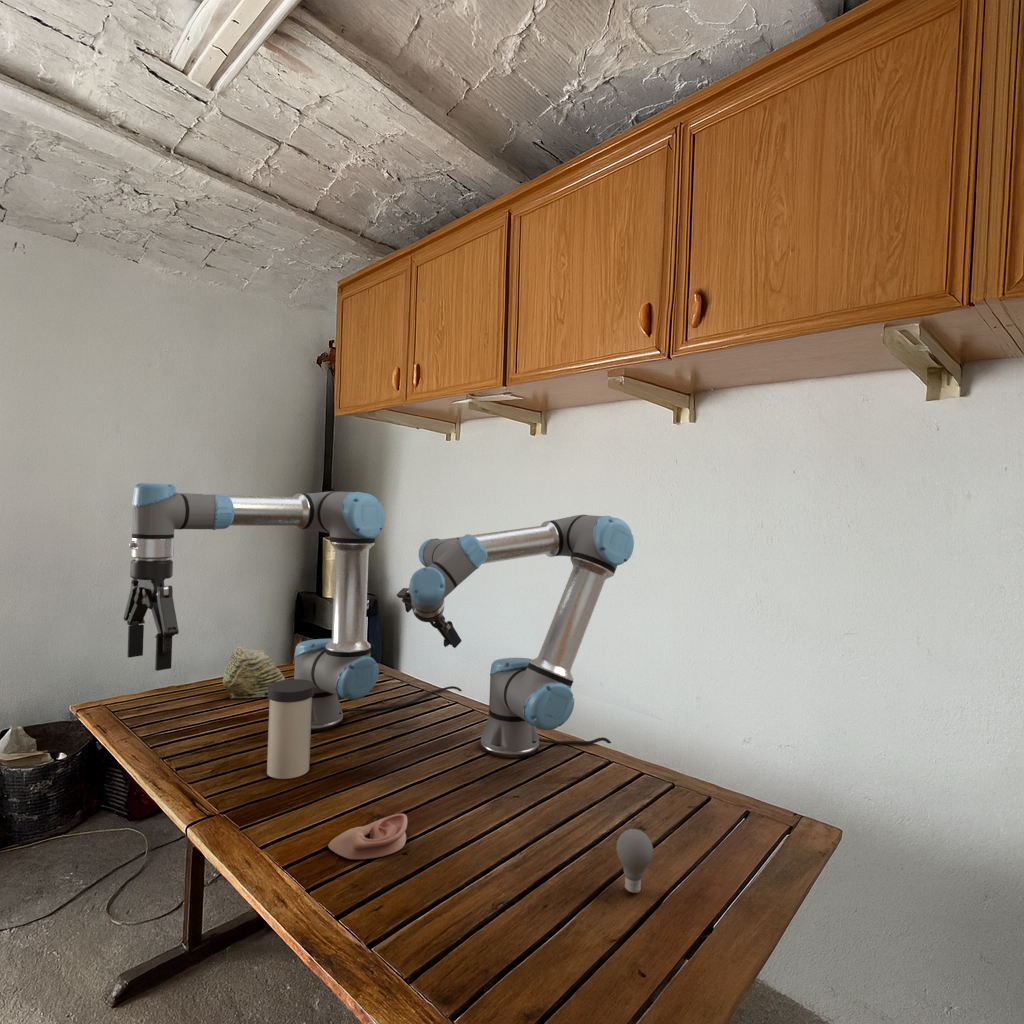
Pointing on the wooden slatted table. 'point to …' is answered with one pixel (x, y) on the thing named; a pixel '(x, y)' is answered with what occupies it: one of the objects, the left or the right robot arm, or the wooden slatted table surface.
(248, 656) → the fossil
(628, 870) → the light bulb
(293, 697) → the lid
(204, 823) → the wooden slatted table surface
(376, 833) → the anatomical model
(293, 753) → the jar
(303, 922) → the wooden slatted table surface
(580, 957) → the wooden slatted table surface
